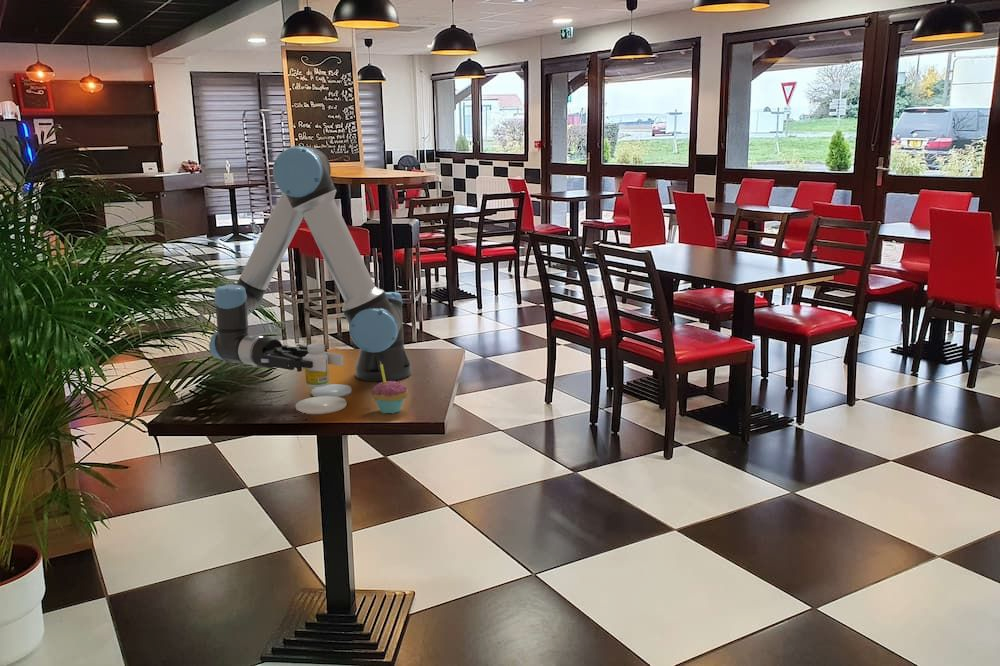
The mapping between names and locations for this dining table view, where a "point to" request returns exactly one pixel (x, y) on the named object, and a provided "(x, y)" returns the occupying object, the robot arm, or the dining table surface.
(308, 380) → the supplement bottle
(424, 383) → the dining table surface
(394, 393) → the cupcake
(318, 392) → the grey coaster
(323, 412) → the cream coaster
